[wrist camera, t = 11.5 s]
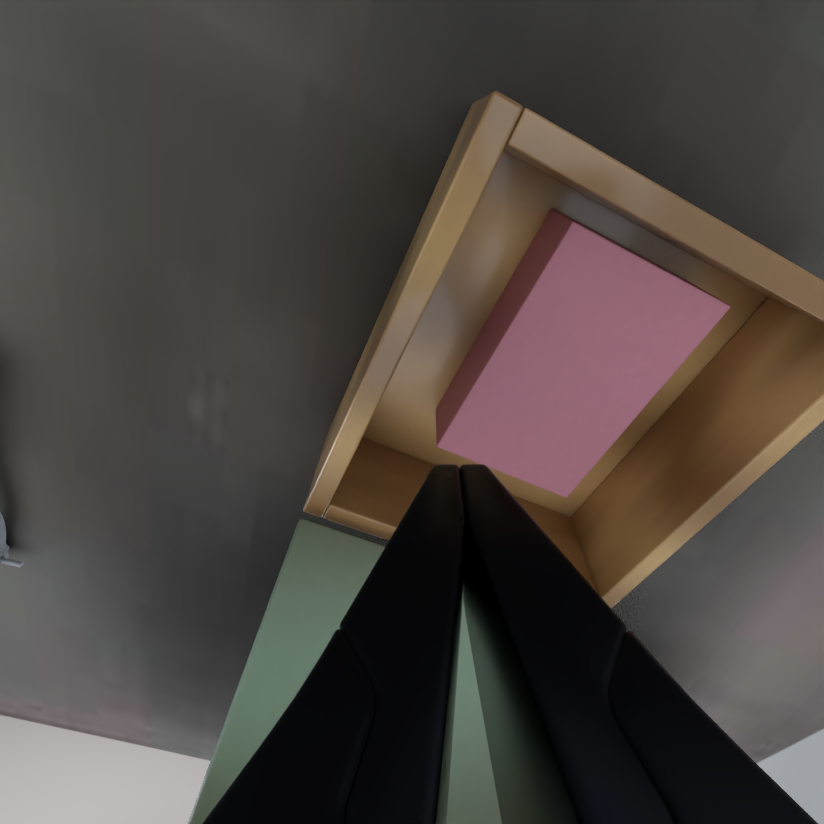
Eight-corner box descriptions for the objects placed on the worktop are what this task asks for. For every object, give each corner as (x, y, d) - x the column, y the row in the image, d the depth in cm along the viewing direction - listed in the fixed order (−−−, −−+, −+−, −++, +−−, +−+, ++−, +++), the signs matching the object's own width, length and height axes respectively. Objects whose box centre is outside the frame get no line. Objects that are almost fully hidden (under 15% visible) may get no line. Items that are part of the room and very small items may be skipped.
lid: (15, 1300, 8) (27, 1258, 9) (644, 1290, 11) (622, 1260, 11) (301, 517, 16) (297, 522, 17) (614, 623, 19) (602, 624, 20)
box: (472, 101, 15) (494, 88, 10) (786, 280, 17) (920, 336, 13) (329, 428, 22) (302, 512, 17) (570, 520, 24) (605, 615, 20)
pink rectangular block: (689, 281, 17) (732, 306, 14) (551, 457, 21) (566, 498, 19) (551, 206, 16) (573, 221, 13) (435, 409, 20) (436, 447, 18)
